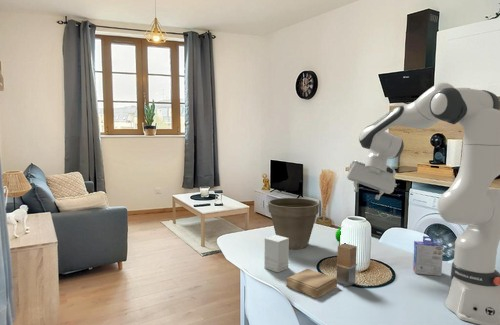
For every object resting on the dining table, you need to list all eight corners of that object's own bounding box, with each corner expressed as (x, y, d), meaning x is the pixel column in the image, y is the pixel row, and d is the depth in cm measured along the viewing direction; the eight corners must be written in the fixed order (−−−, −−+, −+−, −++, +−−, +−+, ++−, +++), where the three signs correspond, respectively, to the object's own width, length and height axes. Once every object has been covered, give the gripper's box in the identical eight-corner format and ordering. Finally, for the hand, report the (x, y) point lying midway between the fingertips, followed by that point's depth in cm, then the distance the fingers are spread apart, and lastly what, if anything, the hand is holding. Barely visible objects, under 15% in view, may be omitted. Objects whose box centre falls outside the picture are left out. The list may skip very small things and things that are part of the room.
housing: (355, 282, 130) (357, 246, 129) (348, 287, 126) (350, 249, 125) (342, 278, 134) (344, 242, 133) (335, 282, 130) (337, 246, 129)
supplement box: (289, 268, 143) (289, 238, 142) (277, 273, 138) (278, 242, 137) (275, 263, 148) (275, 234, 147) (263, 268, 143) (264, 237, 142)
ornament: (347, 241, 181) (348, 222, 180) (354, 246, 173) (355, 226, 172) (332, 241, 180) (333, 222, 179) (338, 246, 172) (339, 226, 171)
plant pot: (256, 243, 175) (257, 200, 173) (289, 234, 191) (290, 195, 189) (295, 257, 156) (296, 209, 154) (327, 245, 173) (329, 202, 171)
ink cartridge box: (437, 271, 143) (440, 236, 142) (442, 276, 138) (444, 240, 136) (411, 268, 145) (414, 234, 144) (415, 274, 140) (417, 238, 138)
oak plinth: (336, 286, 127) (337, 277, 126) (316, 298, 117) (317, 289, 117) (307, 276, 136) (307, 267, 135) (286, 286, 126) (286, 277, 126)
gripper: (353, 157, 154) (345, 185, 150) (399, 172, 152) (391, 201, 147) (350, 161, 160) (341, 189, 156) (394, 177, 157) (386, 205, 153)
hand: (366, 195), depth 152 cm, fingers open, 8 cm apart
